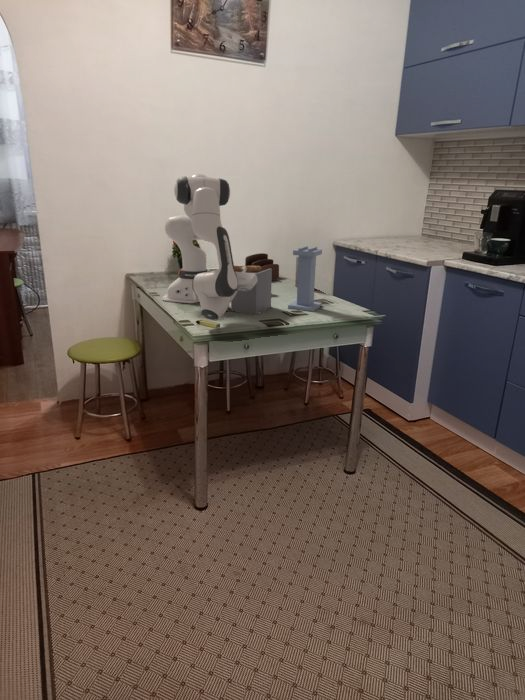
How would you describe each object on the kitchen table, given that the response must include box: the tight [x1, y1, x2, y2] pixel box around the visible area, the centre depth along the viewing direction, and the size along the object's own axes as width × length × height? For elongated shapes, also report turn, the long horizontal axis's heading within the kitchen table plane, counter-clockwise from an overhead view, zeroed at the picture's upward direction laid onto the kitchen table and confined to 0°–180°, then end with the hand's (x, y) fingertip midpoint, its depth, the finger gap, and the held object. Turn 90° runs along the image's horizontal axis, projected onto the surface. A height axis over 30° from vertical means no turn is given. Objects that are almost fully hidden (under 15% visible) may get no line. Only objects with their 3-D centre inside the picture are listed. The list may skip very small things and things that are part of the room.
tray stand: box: [230, 268, 273, 315], centre depth 224 cm, size 16×12×18 cm
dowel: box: [234, 265, 261, 273], centre depth 217 cm, size 22×3×3 cm, turn 155°
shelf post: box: [287, 245, 323, 312], centre depth 227 cm, size 12×12×27 cm
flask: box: [294, 256, 299, 288], centre depth 269 cm, size 4×14×18 cm, turn 21°
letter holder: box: [244, 253, 280, 280], centre depth 294 cm, size 10×20×14 cm, turn 140°
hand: (240, 267), depth 210 cm, fingers closed on dowel, 3 cm apart
